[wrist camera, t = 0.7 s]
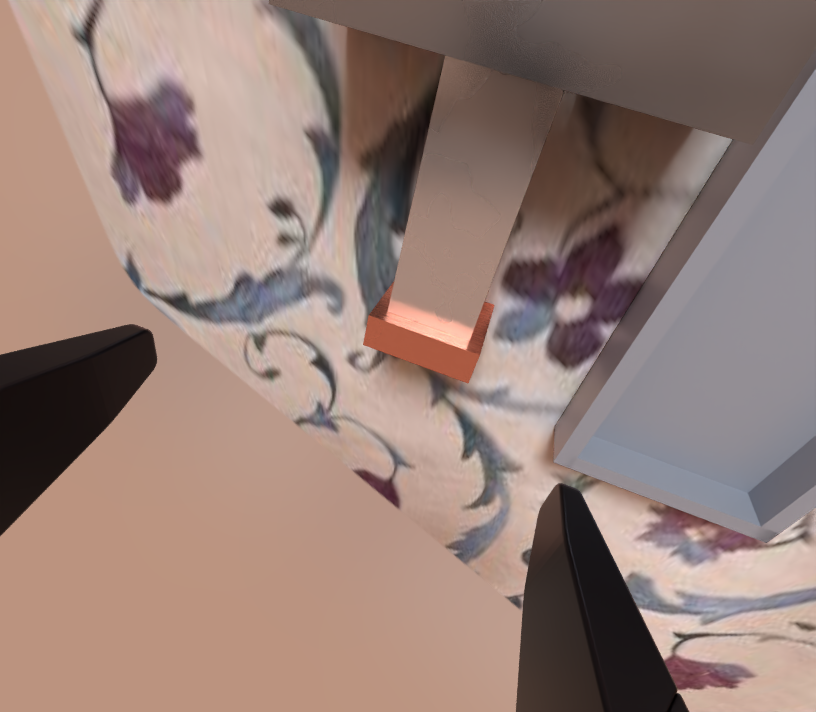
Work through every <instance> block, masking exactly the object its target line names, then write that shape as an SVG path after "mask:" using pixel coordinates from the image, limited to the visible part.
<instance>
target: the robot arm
mask: <svg viewBox="0 0 816 712" xmlns="http://www.w3.org/2000/svg"><path fill="white" fill-rule="evenodd" d="M156 364H157V354H156V349H155V343H154V338H153V334H152V332H151V331H150V330H148V329H145V328H143V327H140V326H138V325H134V324H129V325H124V326H120V327H116V328H112V329H107V330H103V331H99V332H95V333H90V334H86V335H82V336H78V337H73V338H69V339H65V340H61V341H56V342H53V343H48V344H44V345H39V346H35V347H31V348H27V349H23V350H18V351H14V352H10V353H6V354H1V355H0V536H1V535H2V534H3V533H4V532H5V531H6V530H7V529H8V528H9V527H10V526H11V525H12V524H13V523H14V522H15V521H16V520H17V518H19V517H20V516H21V515H22V514H23V512H24V511H26V510H27V509H28V508H29V506H30V505H31V504H32V503H33V502H34V501H35V500H36V499H37V498H38V497H39V496H40V495H41V494H42V493H43V492H44V491H45V490H46V489H47V488H48V487H49V486H50V485H51V484H52V483H53V482H54V481H55V480H56V479H57V478H58V477H59V476H60V475H61V474H62V473H63V472H64V471H65V470H66V469H67V468H68V467H69V466H70V464H72V463H73V461H74V460H75V459H76V458H77V457H78V456H79V455H80V454H81V453H82V452H83V451H84V450H85V449H86V448H87V447H88V446H89V445H90V444H91V443H92V442H93V441H94V440H95V439H96V438H97V437H98V436H99V435H100V434H101V433H102V432H103V431H104V430H105V429H106V428H107V427H108V425H109V424H110V423H111V422H112V421H113V420H114V418H115V417H116V416H117V415H118V414H119V413H120V411H121V410H122V409H123V408H124V406H125V405H126V404H127V403H128V401H129V400H130V399H131V398H132V396H133V395H134V394H135V393H136V391H137V390H138V389H139V388H140V386H141V385H142V384H143V382H144V381H145V380H146V379H147V377H148V376H149V375H150V374H151V372H152V371H153V370H154V368H155V366H156ZM520 645H521V646H520V659H519V673H518V688H517V703H516V712H689V710H688V708H687V706H686V704H685V702H684V700H683V698H682V696H681V695H680V694H679V693H677V687H676V684H675V682H674V680H673V678H672V676H671V674H670V672H669V670H668V668H667V666H666V664H665V662H664V660H663V658H662V656H661V654H660V652H659V650H658V648H657V646H656V644H655V642H654V640H653V638H652V636H651V634H650V632H649V630H648V628H647V626H646V624H645V622H644V620H643V617H642V615H641V613H640V611H639V609H638V607H637V605H636V603H635V601H634V599H633V597H632V595H631V593H630V591H629V589H628V587H627V585H626V583H625V581H624V579H623V577H622V575H621V573H620V571H619V569H618V567H617V565H616V563H615V561H614V559H613V557H612V555H611V553H610V550H609V548H608V546H607V544H606V542H605V540H604V538H603V536H602V534H601V532H600V530H599V528H598V526H597V524H596V522H595V520H594V518H593V516H592V514H591V512H590V510H589V508H588V506H587V504H586V502H585V500H584V498H583V496H582V494H581V492H580V491H579V490H578V489H576V488H573V487H570V486H568V485H565V484H562V483H559V484H557V485H556V486H555V487H554V488H553V490H552V491H551V493H550V494H549V496H548V497H547V499H546V500H545V502H544V503H543V505H542V506H541V508H540V511H539V514H538V518H537V524H536V529H535V534H534V540H533V545H532V550H531V556H530V561H529V567H528V572H527V577H526V583H525V590H524V600H523V614H522V629H521V644H520Z"/></svg>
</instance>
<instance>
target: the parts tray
mask: <svg viewBox="0 0 816 712" xmlns="http://www.w3.org/2000/svg"><path fill="white" fill-rule="evenodd" d="M553 462H554V463H557V464H559V465H562V466H565V467H567V468H570V469H573V470H575V471H578V472H580V473H583V474H586V475H588V476H591V477H594V478H596V479H599V480H602V481H604V482H607V483H610V484H612V485H615V486H617V487H620V488H623V489H625V490H628V491H631V492H633V493H636V494H639V495H641V496H644V497H647V498H649V499H652V500H655V501H657V502H660V503H662V504H665V505H668V506H670V507H673V508H676V509H678V510H681V511H684V512H686V513H689V514H692V515H694V516H697V517H700V518H702V519H705V520H707V521H710V522H713V523H715V524H718V525H721V526H723V527H726V528H729V529H731V530H734V531H737V532H739V533H742V534H744V535H747V536H750V537H752V538H755V539H758V540H760V541H763V542H766V543H767V542H769V541H770V540H771V539H773V538H774V537H775V536H777V535H778V534H780V533H781V532H782V531H784V530H785V529H787V528H788V527H789V526H791V525H792V524H793V523H795V522H796V521H798V520H799V519H800V518H802V517H803V516H805V515H806V514H807V513H809V512H810V511H811V510H813V509H814V508H816V49H815V50H814V52H813V54H812V55H811V57H810V58H809V60H808V61H807V63H806V64H805V66H804V67H803V69H802V70H801V72H800V73H799V75H798V77H797V78H796V80H795V81H794V83H793V84H792V86H791V87H790V89H789V90H788V92H787V93H786V95H785V97H784V98H783V100H782V101H781V103H780V104H779V106H778V107H777V109H776V110H775V112H774V113H773V115H772V116H771V118H770V120H769V121H768V123H767V124H766V126H765V127H764V129H763V130H762V132H761V133H760V135H759V136H758V138H757V140H756V141H755V143H754V144H753V145H751V144H747V143H744V142H741V141H737V140H734V139H733V141H732V142H731V144H730V146H729V147H728V149H727V150H726V152H725V154H724V155H723V157H722V158H721V160H720V162H719V163H718V165H717V166H716V168H715V170H714V171H713V173H712V175H711V176H710V178H709V179H708V181H707V183H706V184H705V186H704V187H703V189H702V191H701V192H700V194H699V195H698V197H697V199H696V200H695V202H694V203H693V205H692V207H691V208H690V210H689V212H688V213H687V215H686V216H685V218H684V220H683V221H682V223H681V224H680V226H679V228H678V229H677V231H676V232H675V234H674V236H673V237H672V239H671V241H670V242H669V244H668V245H667V247H666V249H665V250H664V252H663V253H662V255H661V257H660V258H659V260H658V261H657V263H656V265H655V266H654V268H653V269H652V271H651V273H650V274H649V276H648V278H647V279H646V281H645V282H644V284H643V286H642V287H641V289H640V290H639V292H638V294H637V295H636V297H635V298H634V300H633V302H632V303H631V305H630V306H629V308H628V310H627V311H626V313H625V315H624V316H623V318H622V319H621V321H620V323H619V324H618V326H617V327H616V329H615V331H614V332H613V334H612V335H611V337H610V339H609V340H608V342H607V344H606V345H605V347H604V348H603V350H602V352H601V353H600V355H599V356H598V358H597V360H596V361H595V363H594V364H593V366H592V368H591V369H590V371H589V372H588V374H587V376H586V377H585V379H584V381H583V382H582V384H581V385H580V387H579V389H578V390H577V392H576V393H575V395H574V397H573V398H572V400H571V401H570V403H569V405H568V406H567V408H566V410H565V411H564V413H563V414H562V416H561V418H560V419H559V421H558V422H557V424H556V426H555V434H554V456H553Z"/></svg>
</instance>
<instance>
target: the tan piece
mask: <svg viewBox="0 0 816 712" xmlns="http://www.w3.org/2000/svg"><path fill="white" fill-rule="evenodd" d="M563 93H564V90H562V89H559V88H555V87H552V86H549V85H545V84H542V83H538V82H535V81H531V80H528V79H525V78H521V77H518V76H514V75H511V74H507V73H504V72H501V71H497V70H494V69H490V68H487V67H483V66H480V65H477V64H473V63H470V62H466V61H463V60H459V59H456V58H452V57H449V56H446V55H445V59H444V63H443V68H442V72H441V77H440V81H439V85H438V90H437V94H436V99H435V103H434V108H433V112H432V116H431V121H430V125H429V130H428V134H427V139H426V143H425V148H424V152H423V156H422V161H421V165H420V170H419V174H418V179H417V183H416V188H415V192H414V196H413V201H412V205H411V210H410V214H409V219H408V223H407V227H406V232H405V236H404V241H403V245H402V250H401V254H400V259H399V263H398V267H397V272H396V276H395V281H394V282H393V283H392V285H391V286H390V287H389V289H388V290H387V291H386V293H385V294H384V295H383V297H382V298H381V300H380V301H379V302H378V304H377V305H376V306H375V308H374V309H373V310H372V312H371V313H370V314H369V317H368V322H367V328H366V333H365V338H364V343H363V345H365V346H368V347H371V348H373V349H376V350H379V351H381V352H384V353H387V354H390V355H392V356H395V357H398V358H400V359H403V360H406V361H409V362H411V363H414V364H417V365H420V366H422V367H425V368H428V369H430V370H433V371H436V372H439V373H441V374H444V375H447V376H449V377H452V378H455V379H458V380H460V381H463V382H466V383H469V380H470V378H471V375H472V373H473V371H474V368H475V366H476V363H477V361H478V358H479V356H480V353H481V349H482V346H483V342H484V339H485V336H486V332H487V329H488V325H489V322H490V319H491V315H492V312H493V308H494V305H493V304H490V303H487V302H484V301H485V298H486V296H487V293H488V291H489V288H490V285H491V283H492V280H493V277H494V275H495V272H496V269H497V267H498V264H499V262H500V259H501V256H502V254H503V251H504V248H505V246H506V243H507V240H508V238H509V235H510V233H511V230H512V227H513V225H514V222H515V219H516V217H517V214H518V211H519V209H520V206H521V204H522V201H523V198H524V196H525V193H526V190H527V188H528V185H529V183H530V180H531V177H532V175H533V172H534V169H535V167H536V164H537V161H538V159H539V156H540V154H541V151H542V148H543V146H544V143H545V140H546V138H547V135H548V132H549V130H550V127H551V125H552V122H553V119H554V117H555V114H556V111H557V109H558V106H559V103H560V101H561V98H562V96H563Z"/></svg>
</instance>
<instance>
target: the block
mask: <svg viewBox="0 0 816 712" xmlns="http://www.w3.org/2000/svg"><path fill="white" fill-rule="evenodd" d="M269 4H271V5H274V6H278V7H281V8H284V9H288V10H291V11H295V12H298V13H302V14H305V15H308V16H312V17H315V18H319V19H322V20H326V21H329V22H332V23H336V24H339V25H343V26H346V27H350V28H353V29H356V30H360V31H363V32H367V33H370V34H374V35H377V36H380V37H384V38H387V39H391V40H394V41H398V42H401V43H404V44H408V45H411V46H415V47H418V48H422V49H425V50H428V51H432V52H435V53H439V54H442V55H446V56H449V57H452V58H456V59H459V60H463V61H466V62H470V63H473V64H477V65H480V66H483V67H487V68H490V69H494V70H497V71H501V72H504V73H507V74H511V75H514V76H518V77H521V78H525V79H528V80H531V81H535V82H538V83H542V84H545V85H549V86H552V87H555V88H559V89H562V90H566V91H569V92H573V93H576V94H579V95H583V96H586V97H590V98H593V99H597V100H600V101H603V102H607V103H610V104H614V105H617V106H621V107H624V108H627V109H631V110H634V111H638V112H641V113H645V114H648V115H651V116H655V117H658V118H662V119H665V120H669V121H672V122H675V123H679V124H682V125H686V126H689V127H693V128H696V129H699V130H703V131H706V132H710V133H713V134H717V135H720V136H723V137H727V138H730V139H734V140H737V141H741V142H744V143H747V144H751V145H753V144H754V143H755V141H756V140H757V138H758V136H759V135H760V133H761V132H762V130H763V129H764V127H765V126H766V124H767V123H768V121H769V120H770V118H771V116H772V115H773V113H774V112H775V110H776V109H777V107H778V106H779V104H780V103H781V101H782V100H783V98H784V97H785V95H786V93H787V92H788V90H789V89H790V87H791V86H792V84H793V83H794V81H795V80H796V78H797V77H798V75H799V73H800V72H801V70H802V69H803V67H804V66H805V64H806V63H807V61H808V60H809V58H810V57H811V55H812V54H813V52H814V50H815V49H816V0H269Z"/></svg>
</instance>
